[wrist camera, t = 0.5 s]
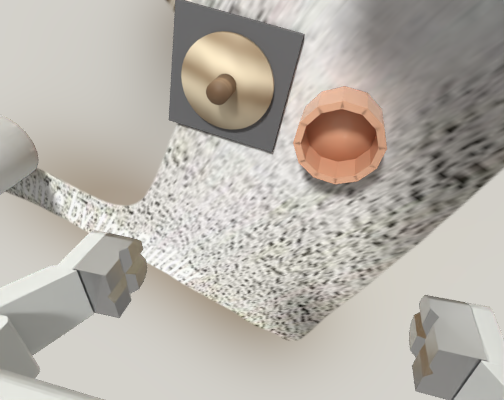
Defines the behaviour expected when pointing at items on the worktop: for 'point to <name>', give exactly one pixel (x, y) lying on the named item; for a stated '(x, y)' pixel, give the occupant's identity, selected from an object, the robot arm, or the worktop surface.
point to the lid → (227, 80)
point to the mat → (264, 36)
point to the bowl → (341, 136)
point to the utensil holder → (15, 154)
